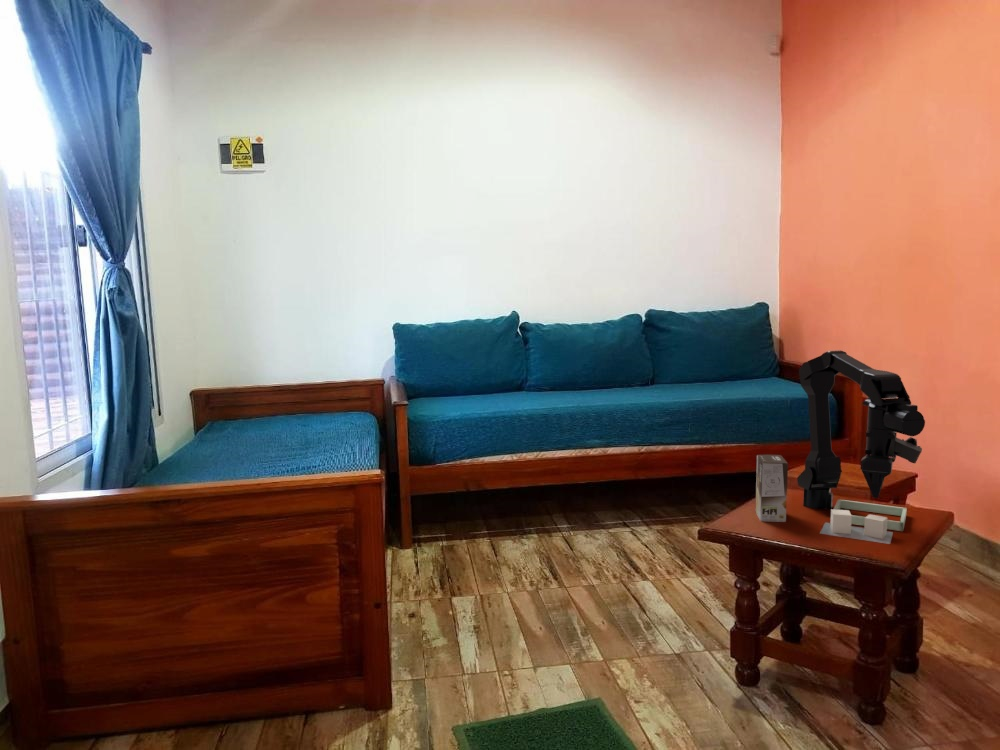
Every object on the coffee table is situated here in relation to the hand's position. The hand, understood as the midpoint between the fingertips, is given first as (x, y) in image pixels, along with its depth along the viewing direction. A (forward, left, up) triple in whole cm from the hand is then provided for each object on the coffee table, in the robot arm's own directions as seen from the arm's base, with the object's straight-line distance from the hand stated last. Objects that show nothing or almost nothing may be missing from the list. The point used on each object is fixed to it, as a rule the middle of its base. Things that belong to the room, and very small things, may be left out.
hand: (877, 492), depth 177 cm
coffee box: (-24, +3, -12) cm, 27 cm away
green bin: (-2, +12, -11) cm, 17 cm away
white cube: (-7, -1, -10) cm, 13 cm away
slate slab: (-4, -1, -11) cm, 12 cm away
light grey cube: (0, 0, -10) cm, 10 cm away
